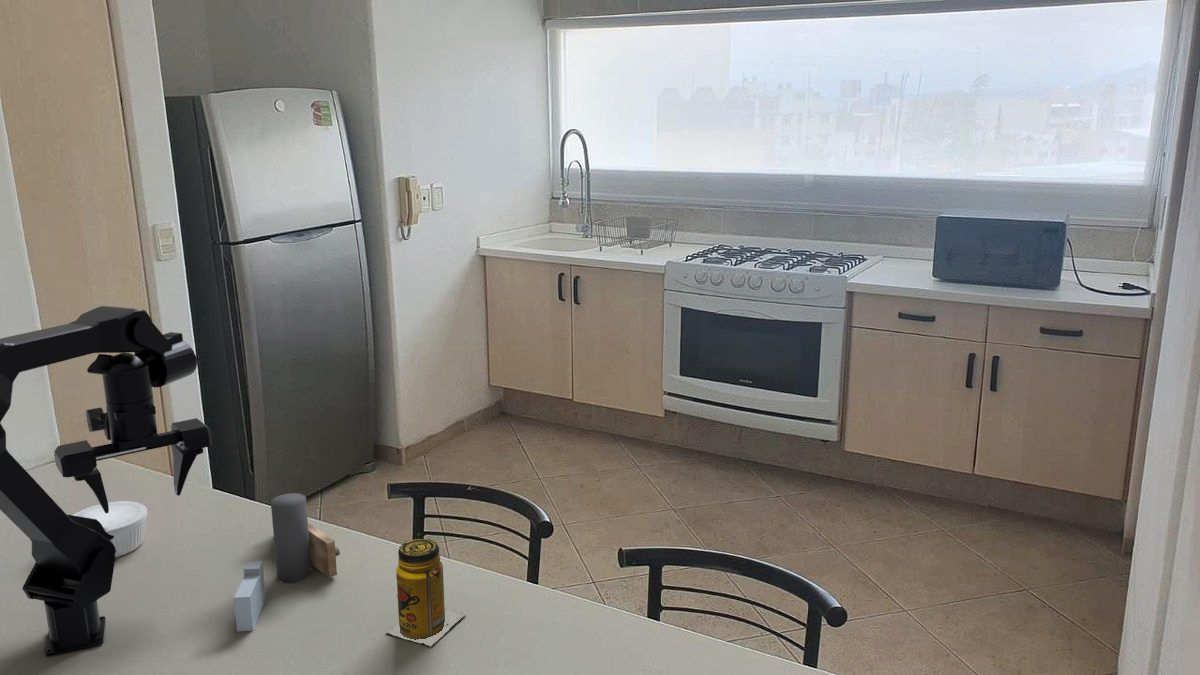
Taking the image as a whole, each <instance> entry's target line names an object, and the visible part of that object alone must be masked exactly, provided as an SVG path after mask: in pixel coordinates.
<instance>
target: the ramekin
mask: <svg viewBox="0 0 1200 675" xmlns="http://www.w3.org/2000/svg"><path fill="white" fill-rule="evenodd" d="M108 506H109V513H105V512H104V510H103V508H102V507H101V505H100V503H99V504H96V505H93V506H90V507H87V508H84V509H82V510H80V511H78V512H76V513H74V514H73V516H79V517H85V518H91V519H96V520H98V521H99V522H100V523H101V524H102V526H103V528H104V530H105V531H106V532H107V533H108V534H109V535H113V536H114V538H113V539H111V540H110V541H112V542H113V544H114V546H115V548H116V553H115V559H117V558H119V557H121V556H125V555H127V554H129V553H131V552H133V551H134V550H136V549H137V548H139V547H140V546H141V544H142V543H143V542H144V540H145V537H146V526H147V518H148V507H146V506H145V505H144V504H142V503H140V502H136V501H130V500H127V501H126V500H122V501H121V500H120V501H112V502H111V501H110V502H109V501H108Z"/></svg>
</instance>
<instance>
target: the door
mask: <svg viewBox="0 0 1200 675" xmlns="http://www.w3.org/2000/svg"><path fill="white" fill-rule="evenodd" d="M308 533H309V546H310V560H311V566H313V567H315V569H317V570H319V571H320V572H321V573H322V574H324V575H325V576H327V577H328V578H329V579H330V578H333V577H335V576H337V575H338V568H337V557H338V556H340V554H341V551H340V549H339V547H336V542H335V540H334V539H333V538H331V537H330V536H328V534H327V535H326V534H325V533H324V532H322V531H321V530H319V529H318V528H316V527H315V526H314V525H312V524H311V523H309V522H308Z"/></svg>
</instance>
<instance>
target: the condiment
mask: <svg viewBox="0 0 1200 675" xmlns="http://www.w3.org/2000/svg"><path fill="white" fill-rule="evenodd" d="M397 552H398V553H397V554H398V561H397V562H398V565H397V566H396V571H395V572H396V576H395V577H396V589H397V593H396V594H397V595H396V597H397V608H398V609H397V610H398V611H397V612H398V615H397V616H398V623H399V627H400V633H401V634H402V635H403V636H404V637H407V638H410V639H414V640H416V639H417V640H418V639H426V638H428V637H431V636H433V635H436V634H437V633H439V632H440V631H442V629H443V627H444V622H445V609H446V607H445V588H444V587H445V586H444V565H443V563H442V562H441V556H440V547H439V545H438V544H437V542H435V541H434V540H431V539H428V538H427V539H426V538H417V539H411V540H407V541H406V542H403V543H402V544H401V545H400V546H399V549H398V551H397ZM466 615H467V613H466V614H465V616H466ZM465 616H463V615H462V619H463V618H464V617H465ZM460 618H461V617H460ZM457 619H458V618H457Z"/></svg>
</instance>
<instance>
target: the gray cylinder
mask: <svg viewBox="0 0 1200 675" xmlns="http://www.w3.org/2000/svg"><path fill="white" fill-rule="evenodd" d="M270 506H271V519H272V530H273V542H274V543H273V545H274V556H275V567H276V576H277V578H278V579H277V581H279V582H280V581H281V582H280V583H284V584H296V583H300V582H303V581H306V580H307V579H309V577H310V576H311V575H312V564H311V560H310V546H309V533H308V523H309V521H308V509H307V497H306V496H305V495H304V494H301V493H297V492H296V493H294V492H292V493H284V494H281V495H278V496H275V497H273V499H271V500H270Z"/></svg>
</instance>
